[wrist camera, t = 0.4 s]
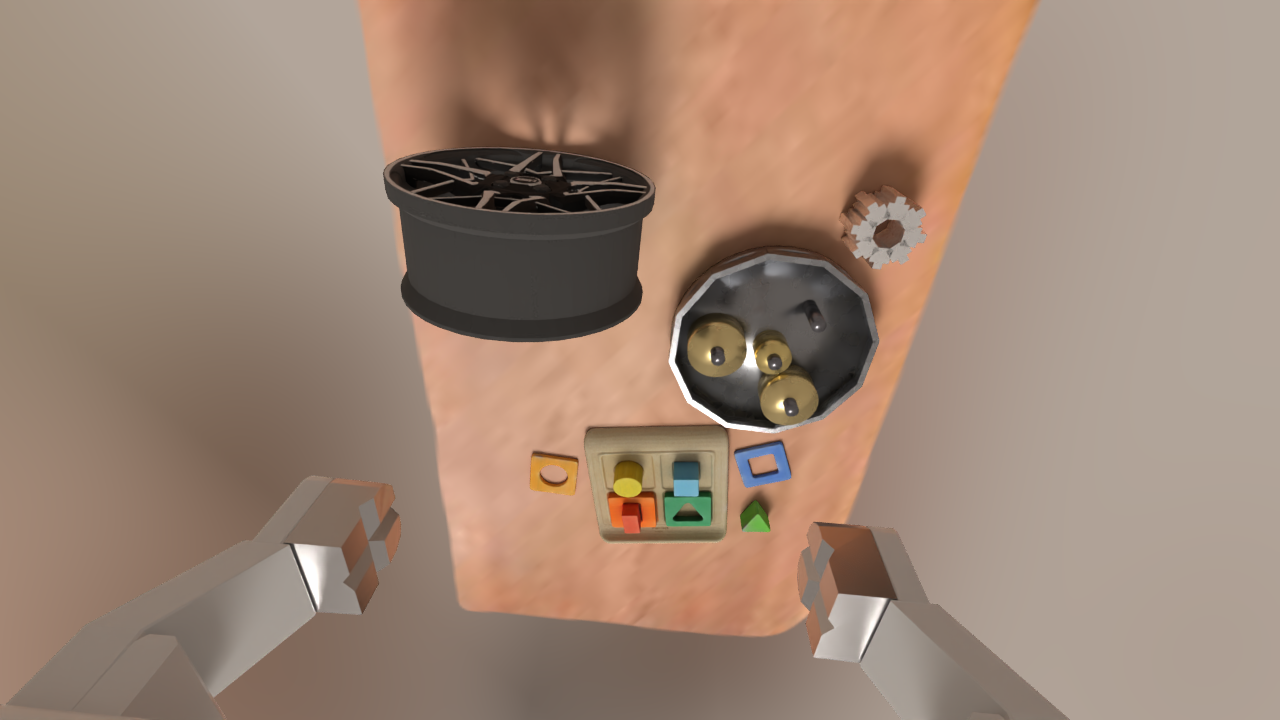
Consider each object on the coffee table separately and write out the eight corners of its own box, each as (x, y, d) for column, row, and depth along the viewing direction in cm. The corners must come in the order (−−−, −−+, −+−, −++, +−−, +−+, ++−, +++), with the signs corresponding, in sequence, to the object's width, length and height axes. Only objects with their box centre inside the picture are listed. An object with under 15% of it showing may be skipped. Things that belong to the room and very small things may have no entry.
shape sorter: (543, 532, 78) (536, 559, 74) (518, 426, 68) (509, 450, 65) (785, 531, 75) (790, 558, 71) (794, 420, 66) (802, 445, 62)
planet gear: (851, 181, 51) (863, 192, 47) (922, 190, 51) (939, 201, 47) (830, 249, 54) (840, 264, 51) (896, 258, 54) (911, 273, 51)
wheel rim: (659, 162, 51) (650, 229, 34) (648, 256, 56) (636, 357, 38) (443, 138, 51) (324, 192, 34) (451, 234, 55) (350, 324, 38)
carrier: (686, 233, 54) (687, 253, 49) (898, 260, 54) (920, 282, 49) (659, 405, 65) (657, 436, 60) (835, 427, 65) (848, 460, 60)
